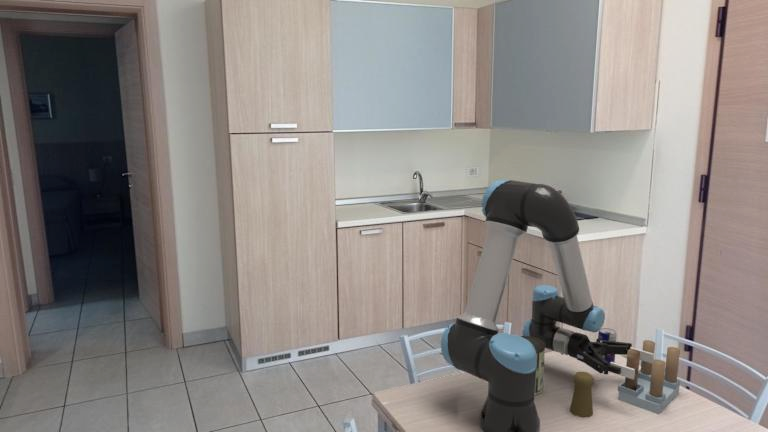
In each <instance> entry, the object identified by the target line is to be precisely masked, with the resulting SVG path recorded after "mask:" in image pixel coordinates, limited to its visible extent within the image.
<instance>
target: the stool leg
mask: <svg viewBox="0 0 768 432" xmlns="http://www.w3.org/2000/svg"><path fill="white" fill-rule="evenodd" d="M640 361H641V360H640V351H638V350H635V349H629V350H628V352H627V355H626V365H625V366H626V367H629V368H633V369H635V376H634V379H630V378H627V377H624V380H625V387H626V388H629V389H631V390H634V391H636V390H637V381H638V371H639V370H640V369H639V368H640Z"/></svg>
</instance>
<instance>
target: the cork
mask: <svg viewBox="0 0 768 432" xmlns="http://www.w3.org/2000/svg"><path fill="white" fill-rule="evenodd" d="M573 383H574V389H573V393H572V397H571V403H570V405H569V406H570V408H569V411H570V413H572V415H574V416H577V417H580V418H590V417H592V416H593V415H594V411H593V410H594V409H593V408H594V407H593V394H592V393H593V392H592V387H593V386H594V383H595V379H594V377H593V374H591V373H589V372H587V371H578V372H576V373H575V374H573Z"/></svg>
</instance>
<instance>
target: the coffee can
mask: <svg viewBox="0 0 768 432" xmlns="http://www.w3.org/2000/svg"><path fill="white" fill-rule="evenodd" d="M520 336H521V337H523V338H525V339H527V340H528V341H529V342H531V343H532V345H533V346H534V348H535V350H536V361H537V367H536V377H535V393H534V396H536V395H537V396H538V395H539V394H541V393H542V392H543V390H544V388H543V387H544V374H545V373H544V369H545V353H546V352H545V351H546V348H545V347H546V344H545V343H544V342H543V341H542V340H540V339H538V338H535V337H530V336H523V335H520Z"/></svg>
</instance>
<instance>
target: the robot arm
mask: <svg viewBox="0 0 768 432" xmlns="http://www.w3.org/2000/svg"><path fill="white" fill-rule="evenodd" d="M481 212H482V215H484V217H485V221H484V223H485V225H486V227H487V234H486V237H485V241H484V244H483V248H482V251H481V254H480V258H479V262H478V265H477V269H476V270H475V271H476V272H475V275H474V279H473V282H472V285H471V289H470V291H469V295H468V298H467V302H466V307H465V310H464V312H463V313H462V314H460V315H457V316H456V320H455V322H451V323H450V324H449V325H447V328H445V329H444V331H443V334H442V336H441V341H440V350H441V354H442V356H443V359H444V361H445V362H446V363H447V364H449V365H450V366H452V367H454V368H455V369H456V370H458V371H463V372H465V373H467V374H469V375H471V376H475V377H476V378H478V379H480V380H483V381H485V382H487V383H488V384H487V385H488V386H487V388H488V389H487V396H486V399H485V402H484V404H483V406H482V409H481V411H480V419H479V424H480V428H481V429H482V431H484V432H540V428H541V420H540V417H539V414H538V410H537V406H536V403H535V395H534V393H535V377H536V367H537V361H536V350H535V348H534V346H533V345H532V343H531V342H529V341H528V340H527V339H525V338H523V337H521V336H530V337H535V338H538V339H540V340H542V341H543V342H544V343H545V344H546V347H545V349H547V350H549V351H550V350H551V351H553V352H557V353H558V354H560V355H562V356H564V355H565V356H569V357H570V358H574V359H576V360H577V361H579V362H582V363H583V364H585V365H586V366H588V367H590V368H592V369H593V370H594V371H596V372H597V373H599V374H604V375H609V373H612V374H615V375H618V376H621V377H624V378H625V377H627V378H630V379H634V376H635V369H633V368H629V367H626V365H622V364H620V363H616V362H615V363H614V362H610V364H609V363H608V362H607V361H606V360H605V359H604V358H603V357H602V356H606V355H608V354H615V355H623V356H625V355H626V356H627V352H628V350H629V349H635V350H638V351H640V360H639V361H641V360H642V361H646V362H649V363H652V362H653V359H654V360H655V353H654V354H653V353H650V352H646V351H643V349H639V348H635V347H633V344H632V343H631V342H624V341H623V342H622V341H617V340H616V341H607V340H602V339H598V338H596V340H595V341H591V340H590V338H589V336H588V335H587V334H584V333H580V332H575V331H574V330H570V329H568V328H563V327H560V326H557V322H558V323H561V324H564V325H568V326H571V327H573V328H576V329H580V330H582V331H587V332H591V333H598V332H599V330H600V329H601V328H603V326H604V323H605V319H606V313H605V310H604V309H602V308H601V307H599V306H597V305H594V302H593V300H592V299H593V298H592V295H591V290H590V286H589V283H588V282H589V281H588V279H587V278H588V277H587V273H586V270H585V265H584V261H583V256H582V253H581V248H580V244H579V238H578V235H579V233H580V227H579V226H580V225H579V223H578V219H577V216H576V213H575V212H574V210H573V208H572V206H571V205H570V203H569V202H568V200H567V199H566V198H565V196H564V195H562V194H561V192H559V190H557V189H555V188H554V187H552V186H550V185H548V184H544V183H533V182H527V181H520V180H519V181H518V180H513V179H508V180H505V179H504V180H502V179H501V180H497V181H495V182H493V183H491V184H490V185H489V186H488V187H487V189H486V190H485V191H484V194H483V197H482V200H481ZM529 227H532V228H533V227H534V228H536V229H538V230H539V231H540V232H541V235H542V238H543V239H544V240H545V241H546V242H548V245H549V249H550V253H551V257H552V261H553V263H554V264H553V265H554V268H555V271H556V274H557V278H558V282H559V286H560V288H561V289H560V290H561V292H562V296H559V290H558V288H556V287H555V286H553V285H548V284H541V285H538V286H535V287H534V288H533V290H532V291H533V292H532V299H531V302H532V303H531V318H529V319H527V320H526V322H524V324H523V328H522V332H521V333H522V335H518V334H514V333H512V334H509V333H507V332H501V333H499V327H498V326H497V324H496V320H497V316H498V312H499V308H500V305H501V302H502V298H503V295H504V291H505V288H506V285H507V281H508V278H509V274H510V270H511V267H512V264H513V260H514V256H515V253H516V250H517V246H518V242H519V239H520V238H521V237H523V236H525V235H527V232H528V229H529ZM598 366H599V367H598Z"/></svg>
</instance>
